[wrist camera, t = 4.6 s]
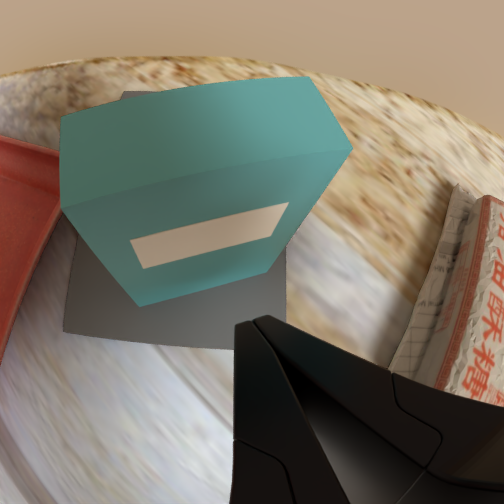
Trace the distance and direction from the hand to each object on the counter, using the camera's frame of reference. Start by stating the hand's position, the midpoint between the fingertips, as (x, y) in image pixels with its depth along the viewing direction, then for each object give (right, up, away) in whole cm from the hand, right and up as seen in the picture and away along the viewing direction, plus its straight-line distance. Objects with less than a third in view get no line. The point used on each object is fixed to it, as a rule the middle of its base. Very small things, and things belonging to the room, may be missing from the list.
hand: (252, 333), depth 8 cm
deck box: (-3, +1, +8) cm, 9 cm away
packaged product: (+15, -3, +11) cm, 19 cm away
